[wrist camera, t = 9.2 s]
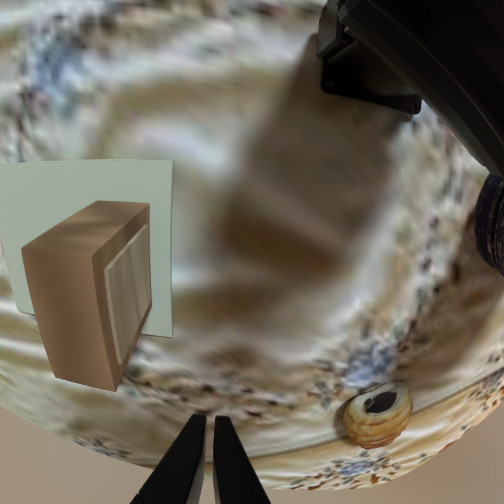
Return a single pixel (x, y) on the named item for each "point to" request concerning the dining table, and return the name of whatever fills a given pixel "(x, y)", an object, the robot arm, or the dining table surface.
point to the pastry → (378, 415)
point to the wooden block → (92, 290)
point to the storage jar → (491, 222)
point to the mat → (78, 197)
